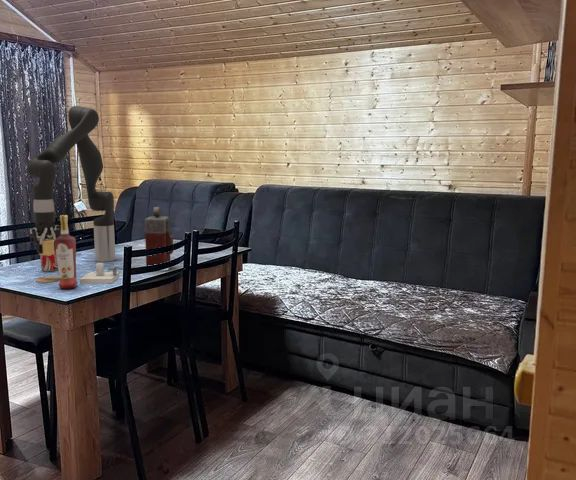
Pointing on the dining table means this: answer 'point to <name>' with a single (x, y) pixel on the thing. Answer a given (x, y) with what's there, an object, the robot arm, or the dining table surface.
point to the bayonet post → (100, 275)
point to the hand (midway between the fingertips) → (46, 252)
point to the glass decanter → (157, 237)
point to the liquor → (66, 256)
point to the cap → (48, 247)
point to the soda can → (49, 262)
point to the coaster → (47, 279)
